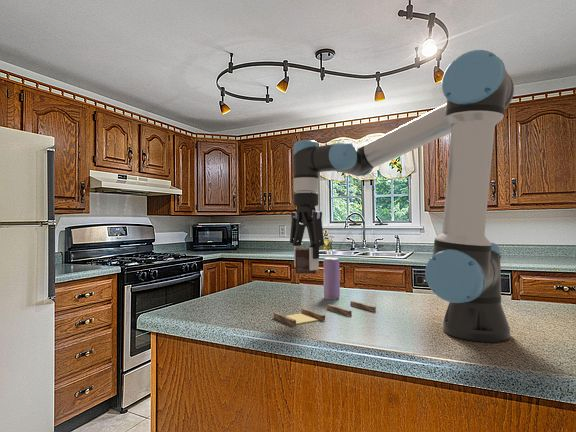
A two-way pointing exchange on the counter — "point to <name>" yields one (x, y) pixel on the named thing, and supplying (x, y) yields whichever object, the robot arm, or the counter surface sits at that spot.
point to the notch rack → (322, 317)
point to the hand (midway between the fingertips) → (306, 268)
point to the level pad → (302, 318)
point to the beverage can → (331, 278)
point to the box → (303, 261)
